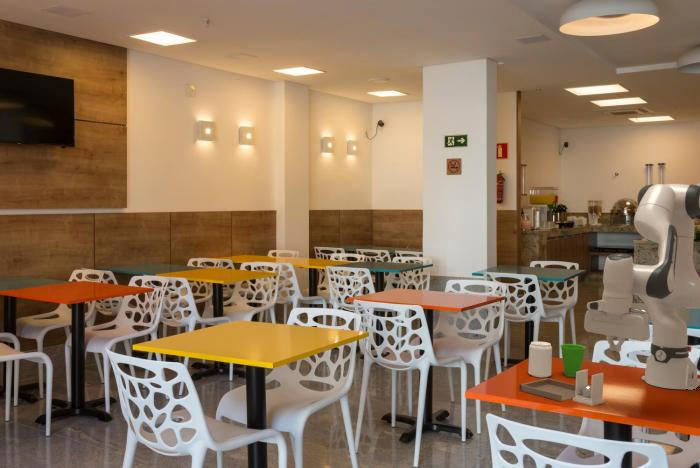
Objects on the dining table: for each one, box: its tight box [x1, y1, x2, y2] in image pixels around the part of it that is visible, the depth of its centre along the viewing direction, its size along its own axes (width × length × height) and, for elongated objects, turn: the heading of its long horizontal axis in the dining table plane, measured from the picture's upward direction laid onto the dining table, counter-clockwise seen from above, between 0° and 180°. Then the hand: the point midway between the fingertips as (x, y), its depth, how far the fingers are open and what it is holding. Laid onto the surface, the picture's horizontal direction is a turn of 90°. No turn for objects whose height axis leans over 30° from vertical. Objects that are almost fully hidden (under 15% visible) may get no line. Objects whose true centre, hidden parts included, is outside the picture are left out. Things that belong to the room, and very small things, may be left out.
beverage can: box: [528, 340, 553, 379], centre depth 251 cm, size 8×8×12 cm
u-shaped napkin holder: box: [572, 369, 606, 407], centre depth 218 cm, size 7×7×10 cm
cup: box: [560, 343, 587, 378], centre depth 252 cm, size 9×9×11 cm
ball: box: [581, 384, 591, 398], centre depth 218 cm, size 4×4×4 cm
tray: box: [518, 377, 576, 402], centre depth 228 cm, size 16×16×2 cm
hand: (615, 350), depth 211 cm, fingers closed
